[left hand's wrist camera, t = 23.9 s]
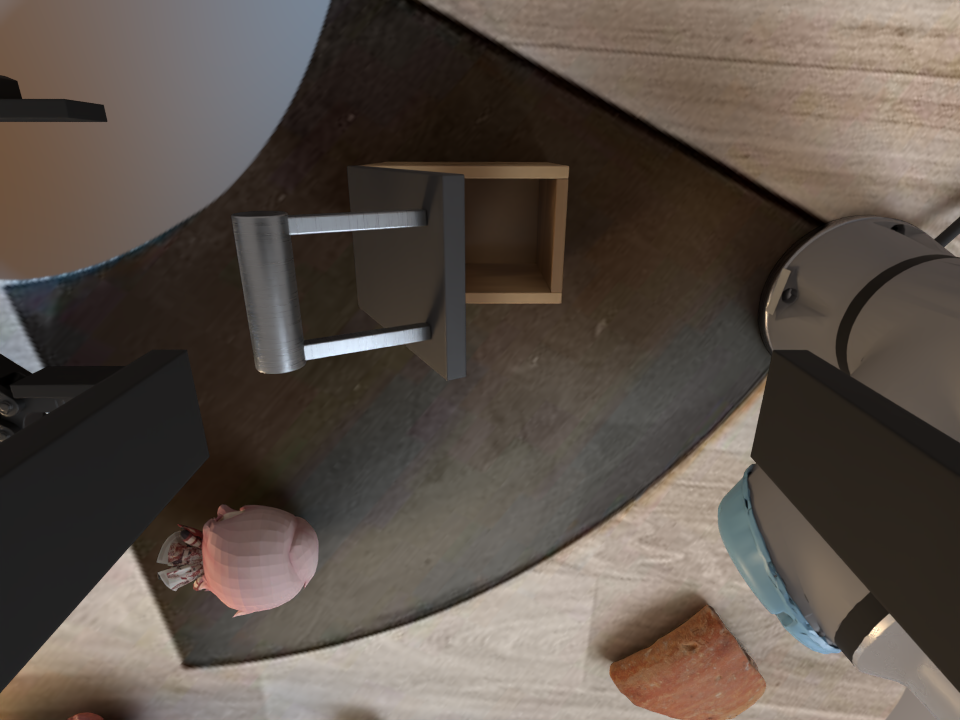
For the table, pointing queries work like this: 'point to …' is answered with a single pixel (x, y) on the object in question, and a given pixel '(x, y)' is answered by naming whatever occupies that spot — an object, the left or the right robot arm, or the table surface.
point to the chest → (510, 228)
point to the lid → (367, 271)
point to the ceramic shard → (692, 672)
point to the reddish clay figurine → (86, 716)
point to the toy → (244, 557)
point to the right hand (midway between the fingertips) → (122, 257)
